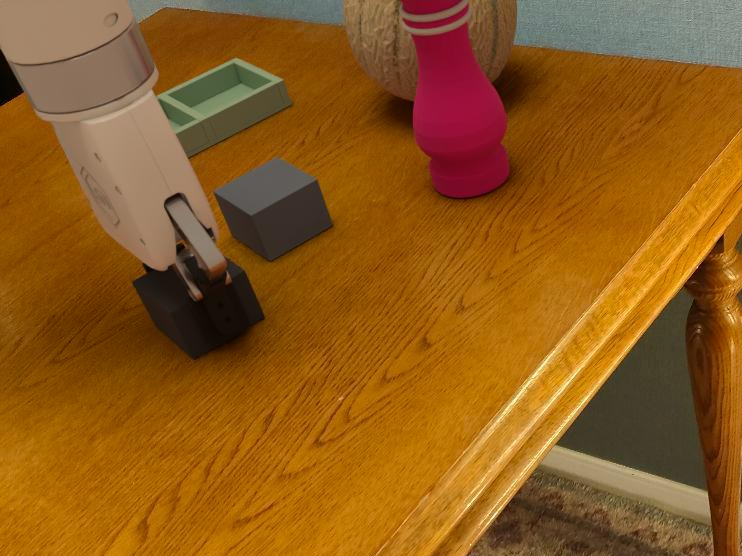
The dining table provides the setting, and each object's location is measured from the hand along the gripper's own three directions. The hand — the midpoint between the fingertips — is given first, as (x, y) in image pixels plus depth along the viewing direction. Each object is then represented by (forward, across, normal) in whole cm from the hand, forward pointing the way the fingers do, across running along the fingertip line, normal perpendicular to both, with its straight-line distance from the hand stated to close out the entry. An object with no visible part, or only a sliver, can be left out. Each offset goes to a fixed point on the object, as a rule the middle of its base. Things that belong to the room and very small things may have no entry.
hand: (207, 315), depth 72 cm
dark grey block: (+1, 0, 0) cm, 1 cm away
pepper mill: (+1, +1, +24) cm, 24 cm away
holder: (+1, -29, +14) cm, 32 cm away
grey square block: (+1, -6, +10) cm, 12 cm away
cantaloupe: (+1, -12, +32) cm, 34 cm away
